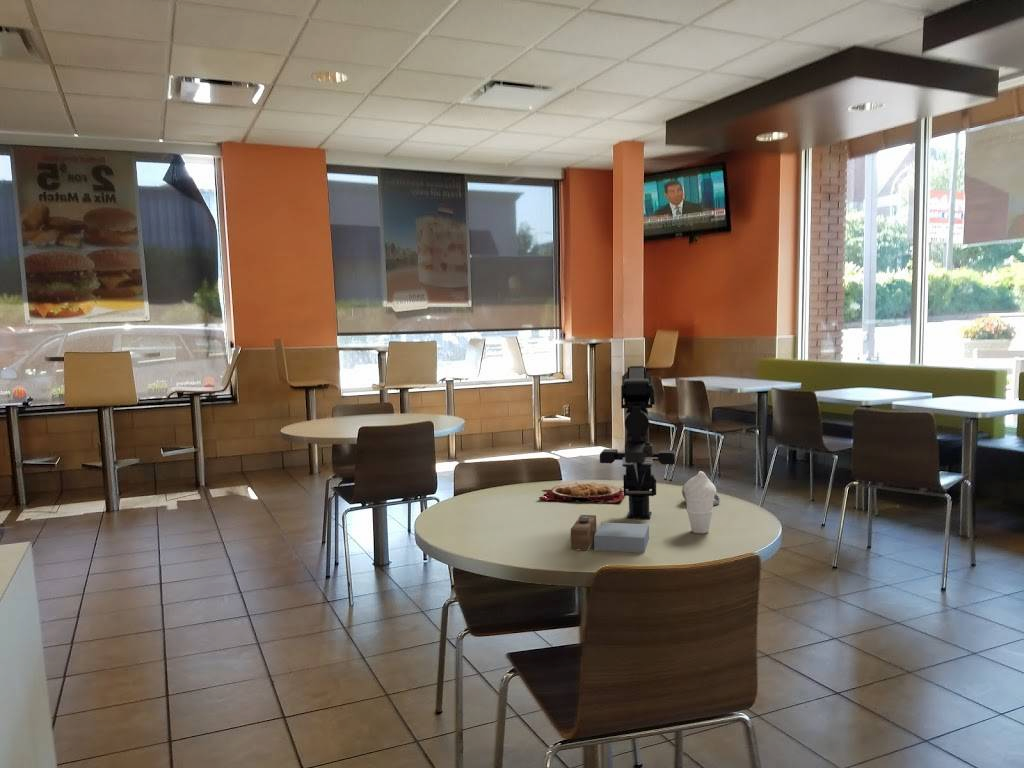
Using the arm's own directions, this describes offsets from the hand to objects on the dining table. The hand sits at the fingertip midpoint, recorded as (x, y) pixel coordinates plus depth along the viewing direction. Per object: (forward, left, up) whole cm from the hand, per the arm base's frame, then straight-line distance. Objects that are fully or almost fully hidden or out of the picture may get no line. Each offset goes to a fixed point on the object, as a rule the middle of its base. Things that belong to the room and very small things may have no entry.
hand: (638, 490), depth 185 cm
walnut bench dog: (+7, -13, -12) cm, 19 cm away
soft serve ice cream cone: (-7, +15, -12) cm, 21 cm away
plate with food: (-45, -22, -13) cm, 52 cm away
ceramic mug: (-39, +15, -12) cm, 44 cm away
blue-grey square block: (+7, -3, -12) cm, 15 cm away
